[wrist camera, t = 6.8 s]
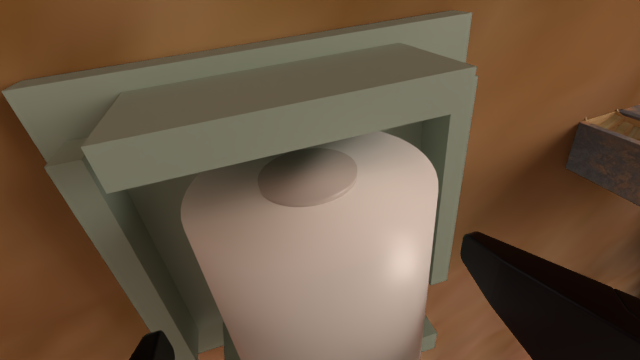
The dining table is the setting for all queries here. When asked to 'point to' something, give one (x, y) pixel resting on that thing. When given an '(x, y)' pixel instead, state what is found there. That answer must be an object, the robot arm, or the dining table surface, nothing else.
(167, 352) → the robot arm
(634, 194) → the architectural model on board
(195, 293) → the holder
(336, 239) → the roll
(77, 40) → the dining table surface
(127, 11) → the dining table surface
